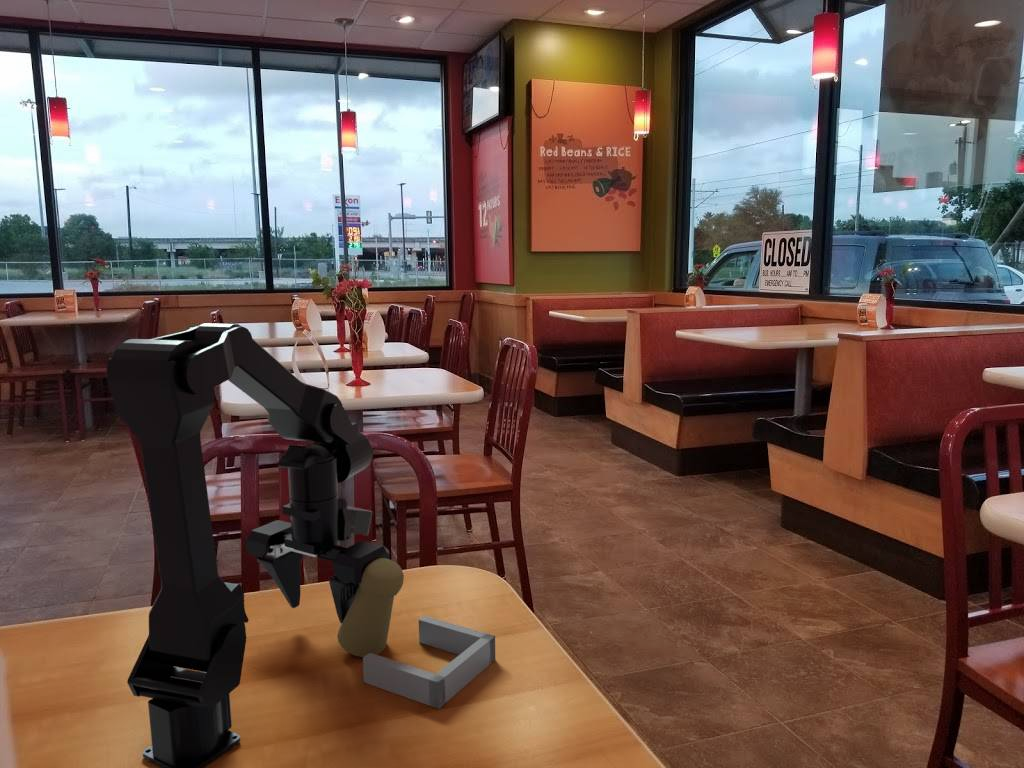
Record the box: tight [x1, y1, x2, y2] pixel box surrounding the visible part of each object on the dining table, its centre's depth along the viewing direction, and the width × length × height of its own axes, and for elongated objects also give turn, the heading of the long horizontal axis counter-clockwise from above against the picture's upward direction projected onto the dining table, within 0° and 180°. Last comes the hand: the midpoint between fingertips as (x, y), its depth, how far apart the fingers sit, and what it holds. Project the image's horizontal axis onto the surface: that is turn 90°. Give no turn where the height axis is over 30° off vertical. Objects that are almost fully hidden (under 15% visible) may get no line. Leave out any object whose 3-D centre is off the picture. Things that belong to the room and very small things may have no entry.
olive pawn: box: [336, 558, 405, 658], centre depth 91 cm, size 6×6×11 cm
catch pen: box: [362, 615, 496, 710], centre depth 88 cm, size 11×10×3 cm
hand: (319, 614), depth 97 cm, fingers open, 8 cm apart
